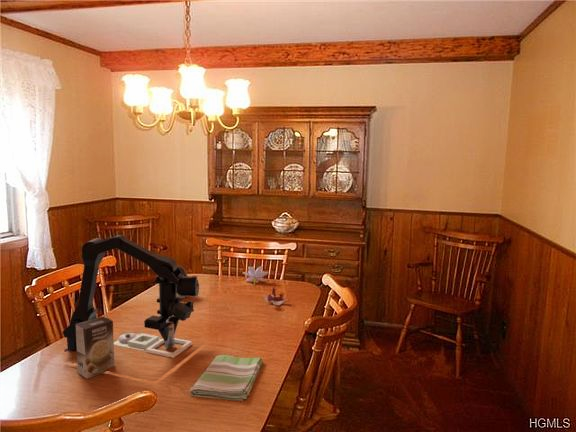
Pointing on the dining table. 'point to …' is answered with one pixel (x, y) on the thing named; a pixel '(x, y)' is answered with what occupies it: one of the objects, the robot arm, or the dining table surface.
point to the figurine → (272, 297)
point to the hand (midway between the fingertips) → (169, 338)
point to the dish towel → (228, 378)
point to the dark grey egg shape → (176, 284)
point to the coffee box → (94, 346)
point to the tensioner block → (137, 341)
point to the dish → (169, 354)
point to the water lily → (255, 274)
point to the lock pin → (170, 336)
